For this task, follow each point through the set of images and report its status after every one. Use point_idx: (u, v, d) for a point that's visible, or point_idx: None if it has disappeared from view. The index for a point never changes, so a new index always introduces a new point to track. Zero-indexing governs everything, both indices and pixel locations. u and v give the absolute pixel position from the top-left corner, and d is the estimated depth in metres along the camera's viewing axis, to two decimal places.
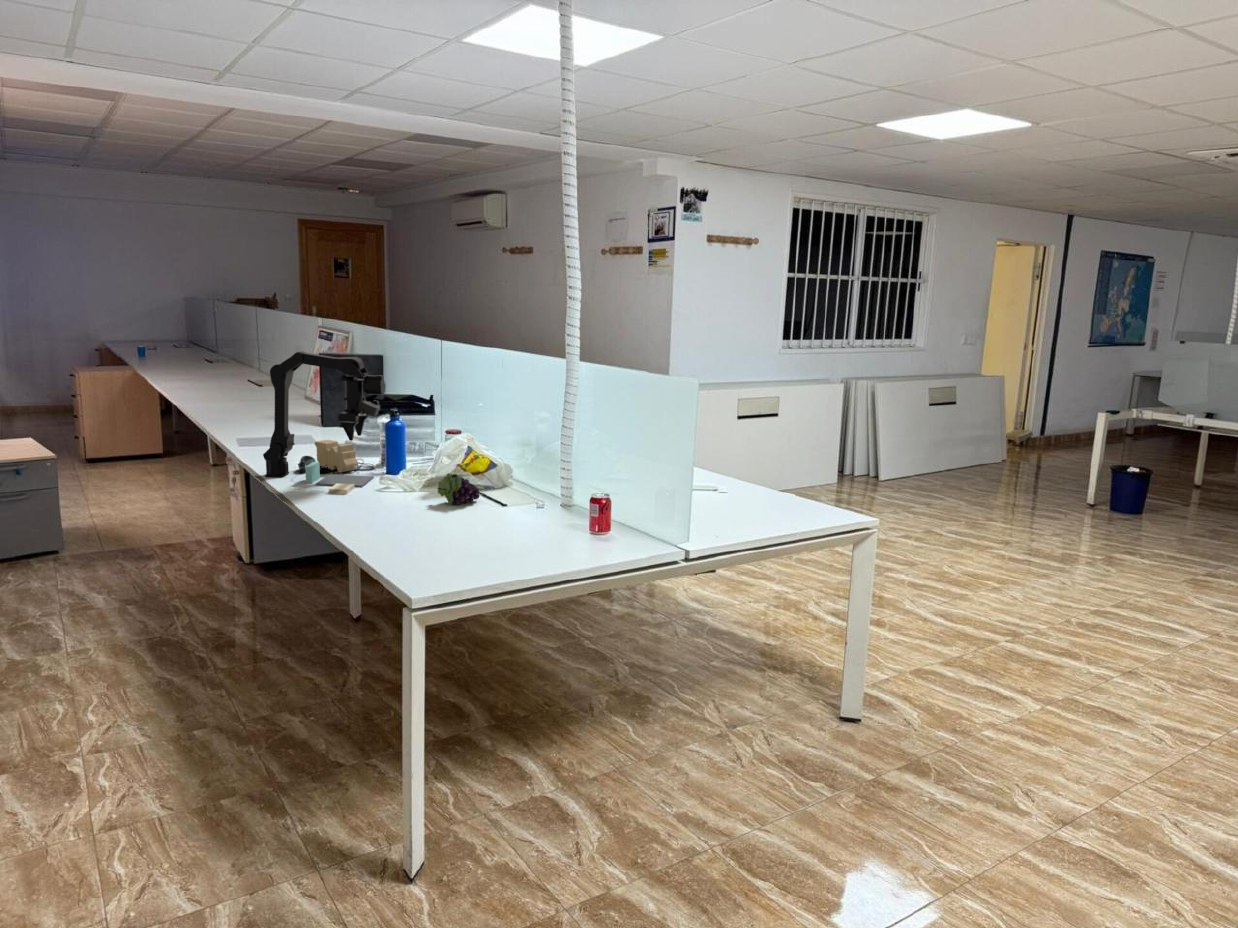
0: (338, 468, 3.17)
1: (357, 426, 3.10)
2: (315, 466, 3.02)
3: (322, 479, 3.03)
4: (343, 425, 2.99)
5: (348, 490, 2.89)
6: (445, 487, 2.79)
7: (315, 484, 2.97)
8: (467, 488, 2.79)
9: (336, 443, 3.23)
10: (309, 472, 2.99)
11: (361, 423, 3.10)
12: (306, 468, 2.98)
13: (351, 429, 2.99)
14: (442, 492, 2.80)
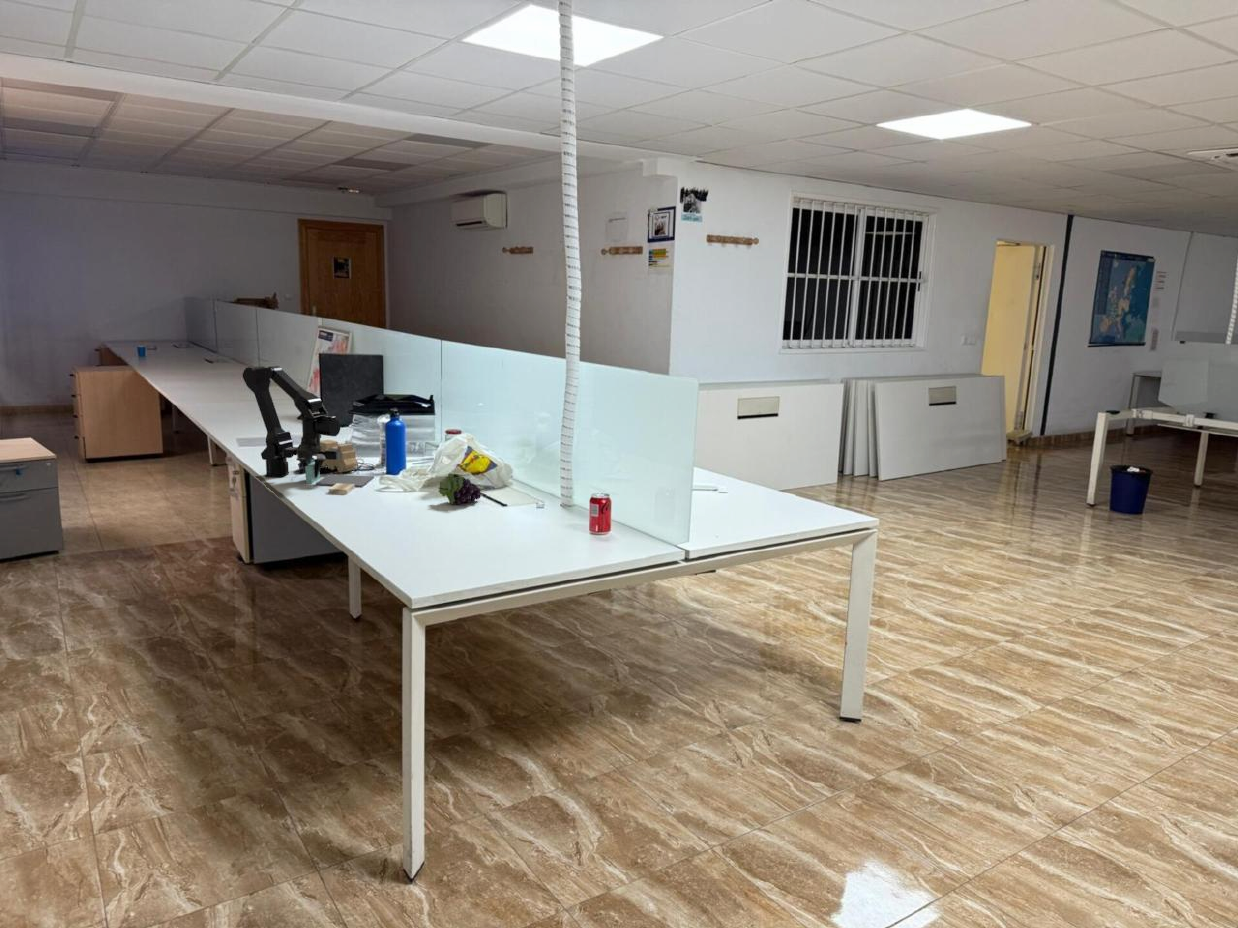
0: (338, 468, 3.17)
1: None
2: None
3: (322, 479, 3.03)
4: None
5: (348, 490, 2.89)
6: (446, 487, 2.79)
7: (315, 484, 2.97)
8: (468, 488, 2.79)
9: (336, 443, 3.23)
10: (309, 472, 2.99)
11: None
12: (306, 468, 2.98)
13: None
14: (443, 492, 2.80)
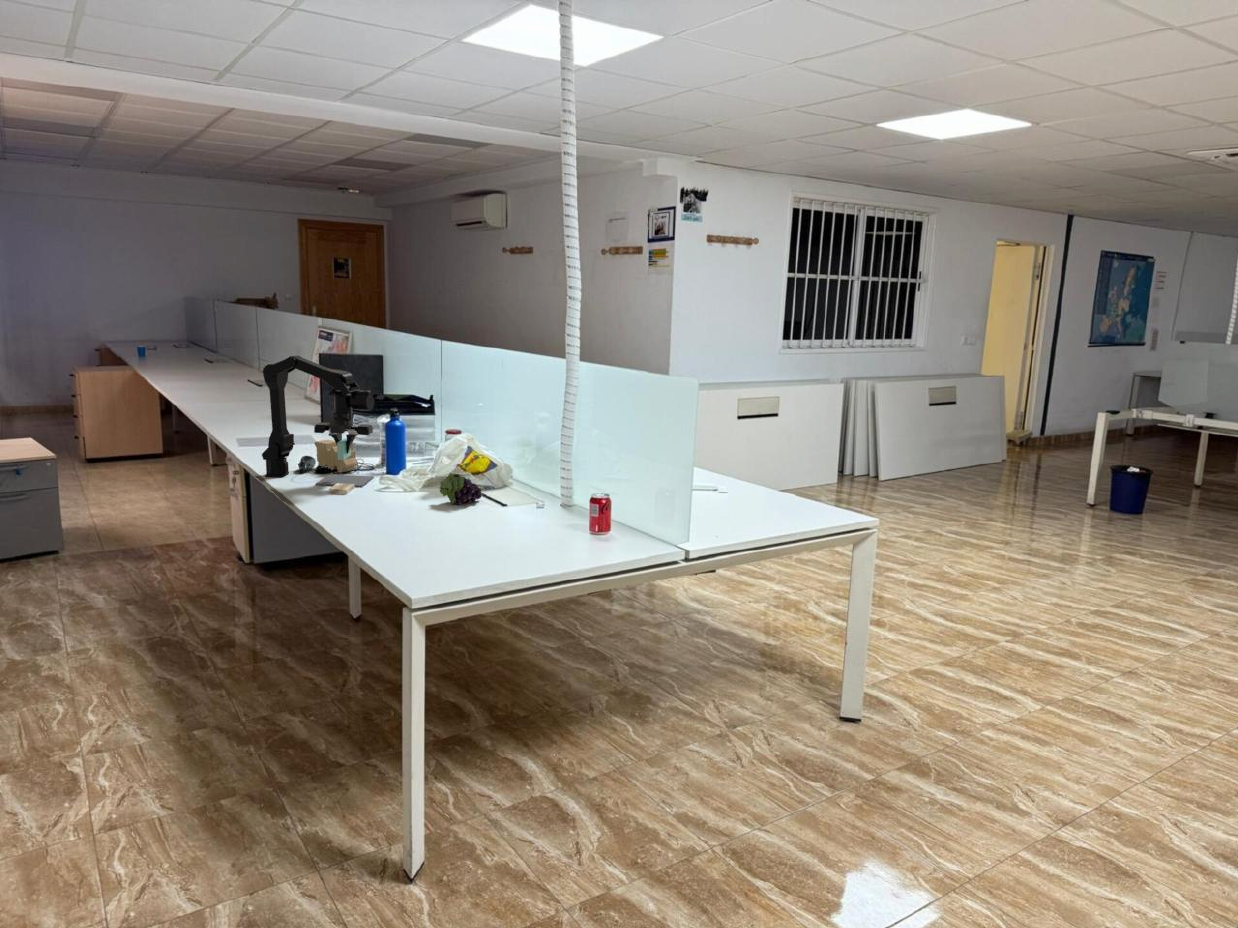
0: (338, 468, 3.17)
1: None
2: (346, 443, 3.01)
3: (322, 479, 3.03)
4: None
5: (348, 490, 2.89)
6: (447, 487, 2.80)
7: (315, 484, 2.97)
8: (469, 488, 2.80)
9: None
10: (341, 448, 2.98)
11: None
12: (338, 444, 2.97)
13: None
14: (444, 492, 2.80)
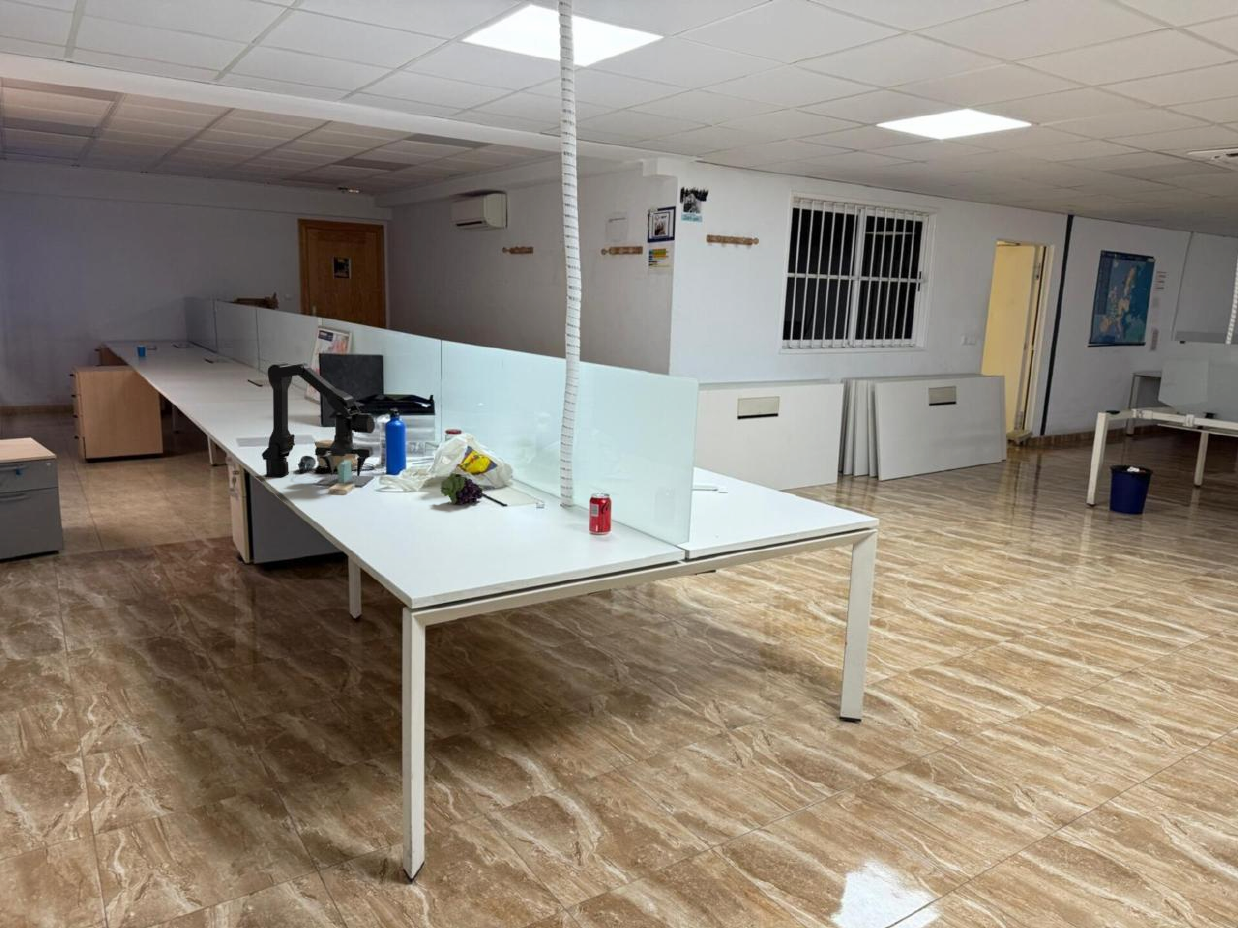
0: None
1: None
2: (347, 465, 3.03)
3: (322, 479, 3.03)
4: None
5: (348, 490, 2.89)
6: (448, 487, 2.80)
7: (315, 484, 2.97)
8: (470, 488, 2.80)
9: None
10: (342, 471, 2.99)
11: None
12: (338, 467, 2.99)
13: None
14: (445, 492, 2.80)
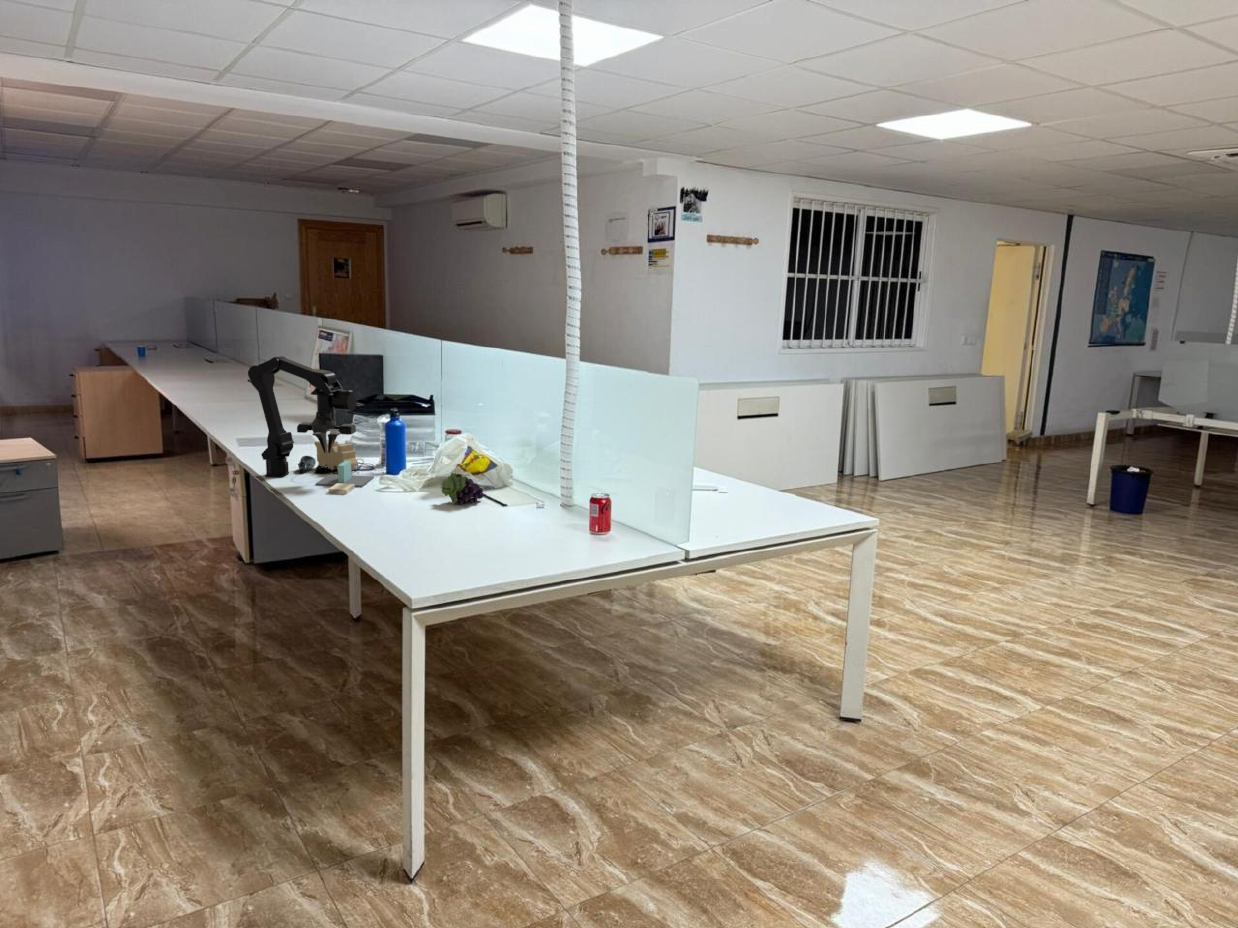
0: None
1: None
2: (347, 465, 3.03)
3: (322, 479, 3.03)
4: None
5: (348, 490, 2.89)
6: (449, 487, 2.80)
7: (315, 484, 2.97)
8: (471, 488, 2.80)
9: (336, 443, 3.23)
10: (342, 471, 2.99)
11: None
12: (338, 467, 2.99)
13: None
14: (446, 492, 2.80)
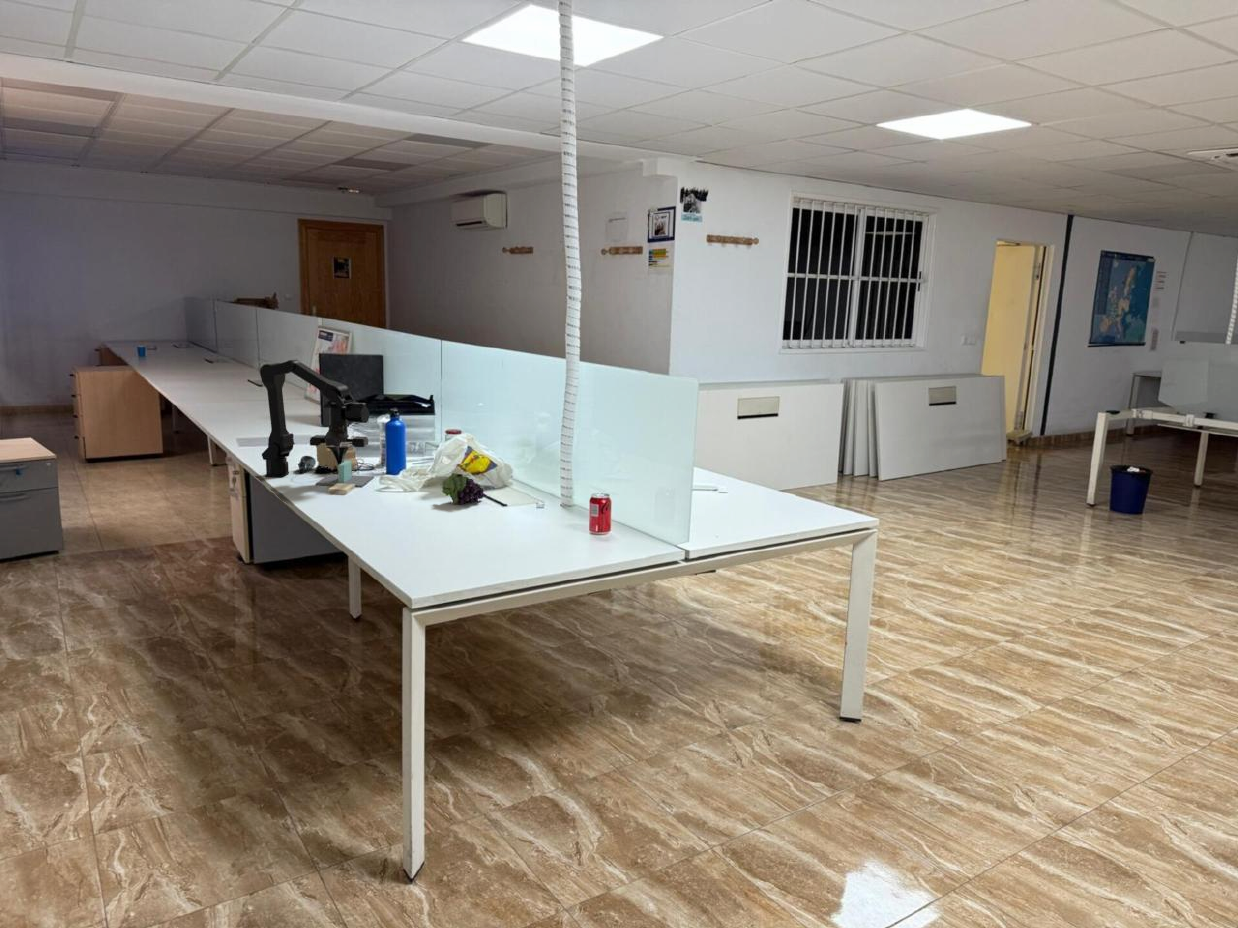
0: None
1: None
2: (347, 465, 3.03)
3: (322, 479, 3.03)
4: None
5: (348, 490, 2.89)
6: (450, 486, 2.80)
7: (315, 484, 2.97)
8: (472, 488, 2.80)
9: None
10: (342, 471, 2.99)
11: None
12: (339, 467, 2.99)
13: None
14: (447, 491, 2.81)
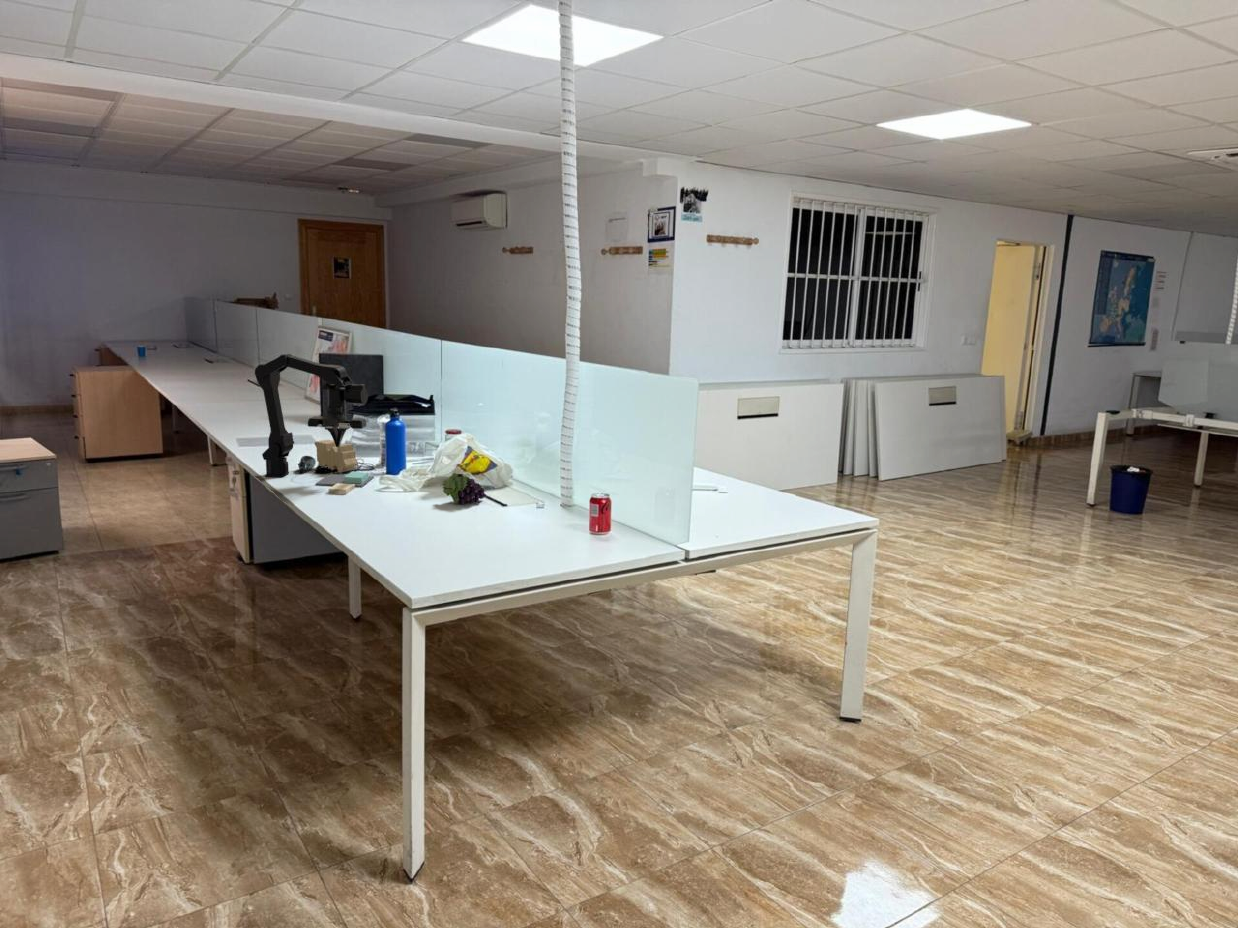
0: (338, 468, 3.17)
1: None
2: None
3: (322, 479, 3.03)
4: None
5: (348, 490, 2.89)
6: (451, 486, 2.80)
7: (315, 484, 2.97)
8: (472, 487, 2.80)
9: None
10: (356, 481, 3.00)
11: None
12: (359, 478, 3.00)
13: None
14: (448, 491, 2.81)
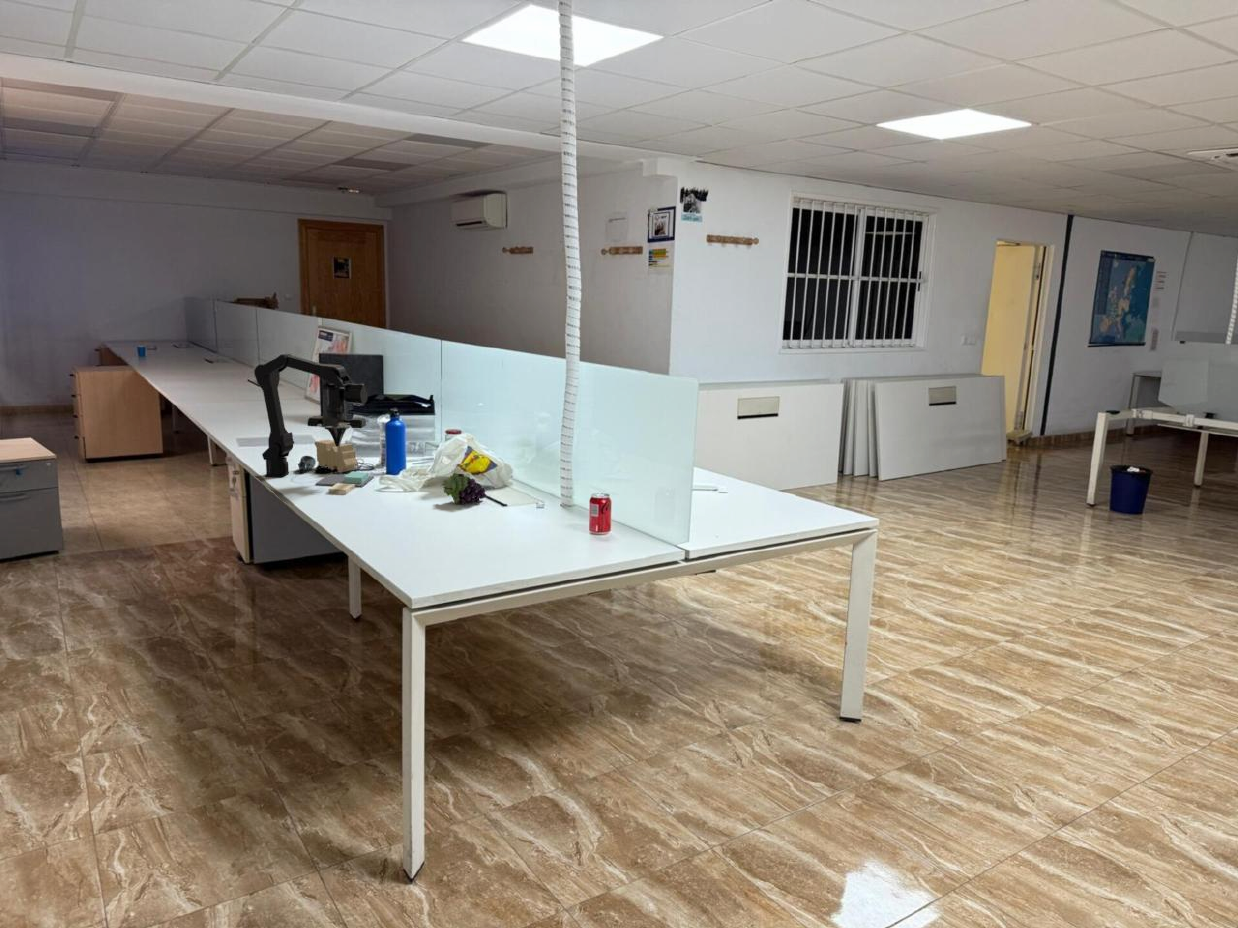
0: (338, 468, 3.17)
1: None
2: None
3: (322, 479, 3.03)
4: None
5: (348, 490, 2.89)
6: (451, 486, 2.80)
7: (315, 484, 2.97)
8: (473, 487, 2.80)
9: None
10: (356, 481, 3.00)
11: None
12: (359, 478, 3.00)
13: None
14: (448, 491, 2.81)
